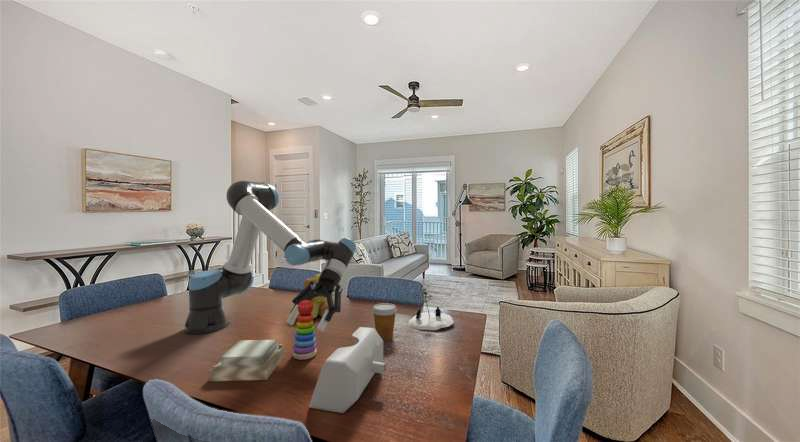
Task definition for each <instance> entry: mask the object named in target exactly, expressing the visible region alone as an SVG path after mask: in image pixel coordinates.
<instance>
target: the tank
mask: <svg viewBox="0 0 800 442" xmlns="http://www.w3.org/2000/svg"><path fill="white" fill-rule="evenodd" d="M351 337H352V338H353V339H354V338H355V342H354V345H350V346H344V347H343V346H342V347H339V348H337V349H336V350H335V351H334V352H332V354H331V355H330V356H328V358H327V359H326V360H325V361H324V363H323V364H322V367H321V370H320V373H319V375H318V378H317V382H316V384H315V387H314V390H313V393H312V396H311V400H310V402H309V405H308V408H309V409H315V410H321V411H322V410H323V411H327V412H328V411H329V412H334V413H340V414H344V413H346V411H347V410H348V409H350V408H351V407H352V406H353V405H354V404H355V402H356V401H358V400H359V398H360V397H361V395H362V393H363V392H364V390H365V389H366V387H367V386H368V385H369V383H370V381H371V380H372V378H373V376H374V375H375V374H376V373H377V374H385V373H386V370H387V363H386V362H383V360H384V340H382V339H381V337H380V336H379V334H378V333H377V331H376V329H375V327H367V326H360V327H358V328H357V329H356V330H355V331H354V332H352V335H351Z"/></svg>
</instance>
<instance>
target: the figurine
mask: <svg viewBox="0 0 800 442" xmlns="http://www.w3.org/2000/svg"><path fill="white" fill-rule="evenodd" d="M421 292H422V293H423V294H424V295H422V296H421V295H419V294H418V295H417V294H414V295H415V296H417V297H416V298H419V299H420V301H421V304H422V305H424V304H425V303H426V308H427V311H426V312H421V311H422V309H418V310H417V311H416V313H415V315H414V316H412V318H410V319H409V320H408V327H410V328H413V329H416V330H422V331H438V330H441V329H442V328H448V327H451V326H452V325H453V324H454V320H453V317H452V316H451V315H449V314H446V313H444V312H443V311H442V310H441V309H440V307H439V306H436V309H435V310H434V312H432V311H431V312H430V310H429V305H428V302H429V301H430V300H432V298H433V295H432V294H428V292H427V288H425V287H421ZM427 298H428V300H427Z"/></svg>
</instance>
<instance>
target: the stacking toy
mask: <svg viewBox="0 0 800 442" xmlns="http://www.w3.org/2000/svg"><path fill="white" fill-rule="evenodd" d="M312 310H313V304H312V302H311V301H309V300H303V301H301V302H300V303H299V305H298V311H299V313H300V315H299V316H298V317H297V322H296V328H295V334H294V338H295V339H294V340H293V341H294V342H293V343H294V344H293V346H292V350H293V351H292V352H291V353H292V357H293V358H294V359H296V360H300V361H301V360H303V361H304V360H309V359H312V358H314V357H315V356H316V355H317V354H318V353H317V352H318V349H317V344H316V341H317V339H316V336H315V335H316V332H315V326H314V319H313V315H312V314H311V312H312ZM312 319H313V320H312Z"/></svg>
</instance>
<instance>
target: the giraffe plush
mask: <svg viewBox="0 0 800 442" xmlns="http://www.w3.org/2000/svg"><path fill="white" fill-rule="evenodd" d="M321 273H322V271H319V272H318V273H317V274H315V275H314V276H313V277H310V278H309V277H308V278H306V279H305V280H304V282H303V288H304V289H305V288H306V287H307V286H308V285H309V283H310V282H311V281H312V282H313V283H315V284H317V283H318V281H319V277H320V275H321ZM315 293H316V291H315ZM310 301H311V302H312V304H313V310H312V312H311V314H312V315H313V319H312V320H313V321H314V319H316V318H317V317H318V316H319V317H320V318H322V317H323V315H324V313H325V311H326V310H329V309H328V308H329V307H328V303H327V298H326V297H323V296H322V297H320V296H318V297H315V298H313V299H312V300H310ZM293 304H294V303H293ZM294 305H295V304H294ZM294 305H293V306H294ZM299 315H300V313H299V314H298V316H299ZM298 316H297V318H298Z"/></svg>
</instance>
